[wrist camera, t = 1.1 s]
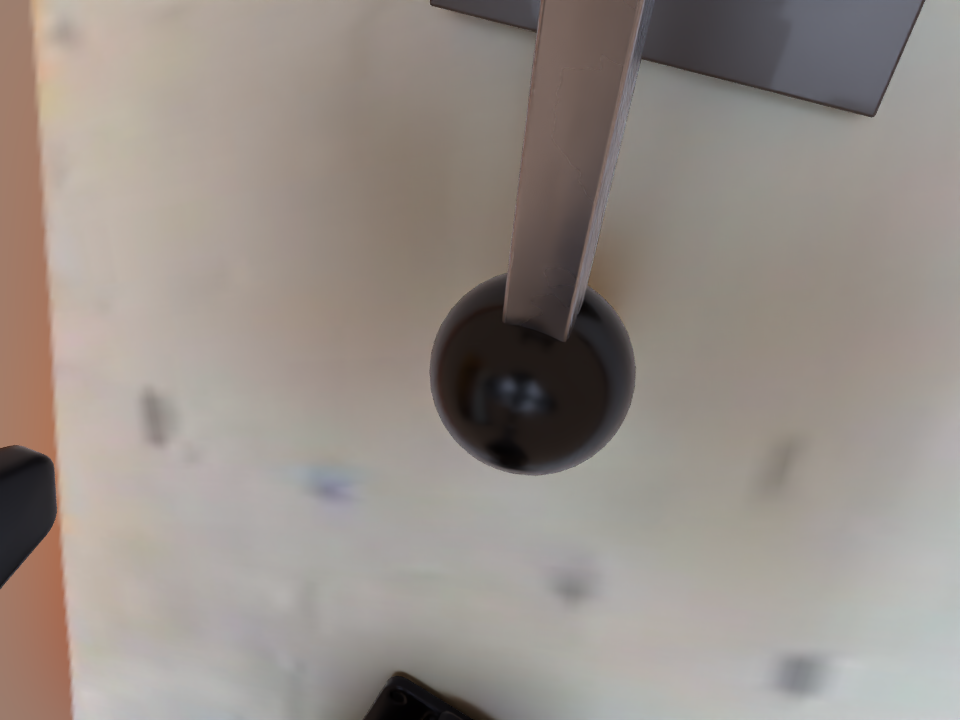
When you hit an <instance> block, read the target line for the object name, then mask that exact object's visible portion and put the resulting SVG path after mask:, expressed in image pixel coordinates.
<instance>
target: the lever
mask: <svg viewBox="0 0 960 720" xmlns="http://www.w3.org/2000/svg"><path fill="white" fill-rule="evenodd" d="M654 4H655V0H541V2H540V10H539V18H538V26H537V34H536V43H535V51H534V59H533V67H532V76H531V84H530V92H529V100H528V108H527V117H526V125H525V133H524V141H523V149H522V158H521V166H520V174H519V182H518V191H517V199H516V207H515V215H514V223H513V232H512V240H511V248H510V256H509V264H508V273H505V274H502V275H499V276H495V277H493V278H491V279H489V280H487V281H485V282H483V283H481V284H479V285H478V286H476V287H475V288H473V289H472V290H471V291H469V292H468V293H467V294H465V295H464V296H463V297H462V298H461V299H460V300H459V301H458V302H457V304H456V305H455V306H454V307H453V308H452V309H451V310H450V312H449V313H448V315H447V316H446V318H445V320H444V321H443V323H442V324H441V326H440V329H439V331H438V333H437V335H436V338H435V341H434V345H433V349H432V352H431V360H430V371H429V372H430V385H431V392H432V396H433V400H434V404H435V407H436V409H437V412H438V414H439V416H440V418H441V421H442V423H443V424H444V426H445V427H446V429H447V430H448V432H449V433H450V435H451V436H452V437H453V438H454V440H455V441H456V442H457V443H458V444H459V445H460V446H461V447H462V448H463V449H465V450H466V451H467V452H468V453H469V454H470V455H472V456H473V457H474V458H476V459H477V460H479V461H481V462H483V463H484V464H486V465H488V466H491V467H493V468H495V469H498V470H501V471H504V472H508V473H513V474H520V475H546V474H553V473H557V472H561V471H564V470H567V469H569V468H572V467H575V466H577V465H579V464H581V463H582V462H584V461H586V460H588V459H589V458H591V457H592V456H593V455H595V454H596V453H597V452H598V451H600V450H601V449H602V448H603V447H604V446H605V445H606V444H607V443H608V442H609V441H610V440H611V439H612V437H613V436H614V435H615V434H616V432H617V431H618V429H619V428H620V426H621V425H622V423H623V421H624V419H625V417H626V415H627V413H628V410H629V408H630V405H631V401H632V397H633V393H634V388H635V373H636V366H635V358H634V352H633V347H632V344H631V341H630V338H629V335H628V332H627V330H626V328H625V326H624V324H623V323H622V321H621V319H620V317H619V316H618V314H617V313H616V312H615V310H614V309H613V308H612V307H611V305H610V304H609V303H608V302H607V301H606V300H605V299H604V298H603V297H602V296H601V295H600V294H598V293H597V292H596V291H595V290H593V289H592V288H591V287H589V286H588V280H589V276H590V272H591V268H592V264H593V259H594V255H595V251H596V247H597V243H598V239H599V234H600V230H601V226H602V222H603V218H604V213H605V209H606V205H607V201H608V197H609V192H610V188H611V184H612V180H613V176H614V172H615V167H616V163H617V159H618V155H619V151H620V146H621V142H622V138H623V134H624V130H625V126H626V121H627V117H628V113H629V109H630V105H631V100H632V96H633V92H634V88H635V84H636V79H637V75H638V71H639V67H640V63H641V59H642V54H643V50H644V46H645V42H646V38H647V33H648V29H649V25H650V21H651V17H652V13H653V8H654Z"/></svg>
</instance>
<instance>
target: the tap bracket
mask: <svg viewBox="0 0 960 720" xmlns="http://www.w3.org/2000/svg"><path fill="white" fill-rule="evenodd" d="M540 2H541V0H430V5H432V6H435V7H439V8H443V9H447V10H451V11H454V12H458V13H462V14H466V15H470V16H474V17H478V18H482V19H486V20H490V21H494V22H498V23H502V24H506V25H510V26H514V27H517V28H521V29H525V30H529V31H533V32H537V26H538V18H539V10H540ZM924 2H925V0H655V4H654V8H653V13H652V17H651V21H650V25H649V29H648V33H647V38H646V42H645V46H644V50H643V54H642V59H643V60H647V61H651V62H655V63H659V64H663V65H667V66H671V67H675V68H679V69H683V70H687V71H691V72H695V73H698V74H702V75H706V76H710V77H714V78H718V79H722V80H726V81H730V82H734V83H738V84H742V85H746V86H750V87H754V88H757V89H761V90H765V91H769V92H773V93H777V94H781V95H785V96H789V97H793V98H797V99H801V100H805V101H809V102H813V103H816V104H820V105H824V106H828V107H832V108H836V109H840V110H844V111H848V112H852V113H856V114H860V115H864V116H868V117H874V116H875V115H876V113H877V111H878V108H879V106H880V104H881V101H882V99H883V97H884V94H885V92H886V90H887V87H888V85H889V83H890V81H891V78H892V76H893V74H894V71H895V69H896V67H897V64H898V62H899V60H900V57H901V55H902V53H903V51H904V48H905V46H906V44H907V41H908V39H909V37H910V34H911V32H912V30H913V27H914V25H915V23H916V20H917V18H918V16H919V14H920V11H921V9H922V7H923V4H924Z"/></svg>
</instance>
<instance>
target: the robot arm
mask: <svg viewBox="0 0 960 720" xmlns="http://www.w3.org/2000/svg"><path fill="white" fill-rule="evenodd" d="M56 514H57V504H56V488H55V472H54V464H53V462H52V461H51V459H50V458H49V457H48V456H46V455H44V454H42V453H39V452H36V451H34V450H31V449H28V448H26V447H24V446H19V445H13V446H7V447H3V448H0V589H1V588H2V586H3V585H4V584H5V583H6V582H7V581H8V579H9V578H10V577H11V576H12V575H13V574H14V572H15V571H16V570H17V569H18V568H19V567H20V565H21V564H22V563H23V562H24V561H25V560H26V558H27V557H28V556H29V555H30V554H31V553H32V551H33V550H34V549H35V548H36V547H37V545H38V544H39V543H40V542H41V541H42V540H43V538H44V537H45V536H46V535H47V534H48V532H49V531H50V529H51V527H52V526H53V523H54V521H55V518H56ZM363 720H473V719H471V718H469V717H468V716H466V715H465V714H463V713H461V712H460V711H458V710H456V709H455V708H453V707H452V706H450V705H448V704H447V703H445V702H443V701H442V700H440V699H439V698H437V697H435V696H434V695H432V694H431V693H429V692H427V691H426V690H424V689H422V688H421V687H419V686H418V685H416V684H414V683H413V682H411V681H410V680H408V679H406V678H404V677H400V676H394V677H391V678H390V679H389V680H388V681H387V683H386V684H385V686H384V687H383V689H382V690H381V692H380V693H379V695H378V697H377V698H376V700H375V701H374V703H373V704H372V706H371V707H370V709H369V710H368V712H367V713H366V715H365V717H364V718H363Z"/></svg>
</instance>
